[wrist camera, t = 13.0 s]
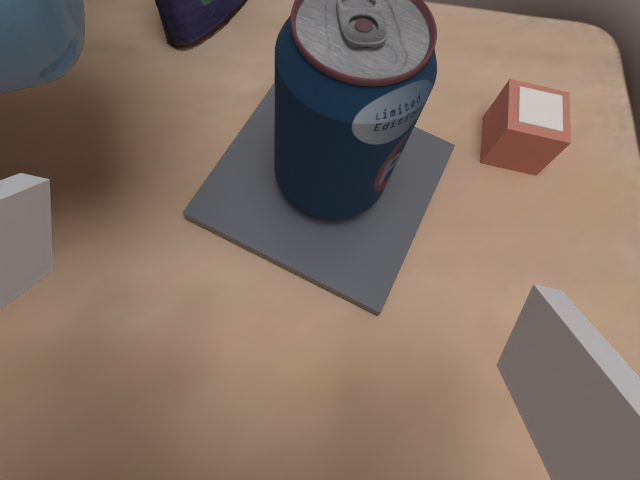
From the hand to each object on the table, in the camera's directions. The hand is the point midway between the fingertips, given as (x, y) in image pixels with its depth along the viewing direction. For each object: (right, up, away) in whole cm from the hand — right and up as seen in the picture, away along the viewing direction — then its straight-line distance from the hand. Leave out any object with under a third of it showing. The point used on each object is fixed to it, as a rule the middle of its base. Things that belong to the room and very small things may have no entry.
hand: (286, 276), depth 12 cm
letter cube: (+14, +8, +19) cm, 25 cm away
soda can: (+1, +5, +16) cm, 17 cm away
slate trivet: (+1, +5, +17) cm, 18 cm away
